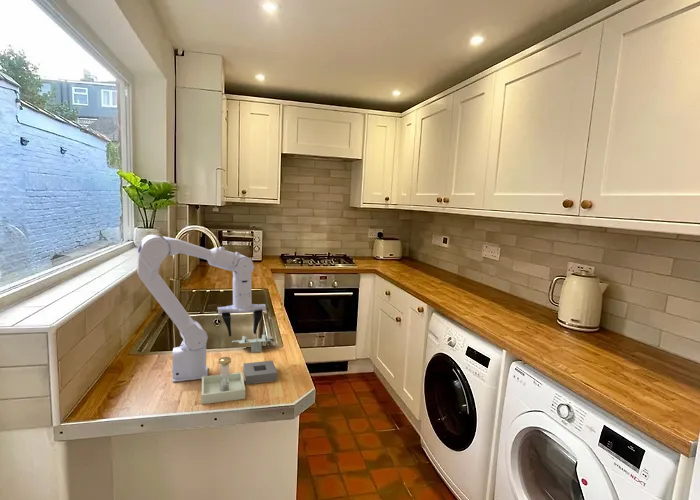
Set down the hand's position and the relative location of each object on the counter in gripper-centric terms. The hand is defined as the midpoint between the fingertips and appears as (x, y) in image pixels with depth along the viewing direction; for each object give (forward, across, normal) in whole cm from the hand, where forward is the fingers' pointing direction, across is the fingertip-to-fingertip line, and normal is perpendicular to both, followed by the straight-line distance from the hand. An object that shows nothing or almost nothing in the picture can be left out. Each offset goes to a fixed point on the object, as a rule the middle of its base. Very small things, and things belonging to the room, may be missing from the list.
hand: (242, 334), depth 120 cm
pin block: (+10, +4, -9) cm, 15 cm away
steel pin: (+10, -6, -16) cm, 20 cm away
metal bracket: (+11, +6, +16) cm, 20 cm away
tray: (+10, -7, -16) cm, 20 cm away
